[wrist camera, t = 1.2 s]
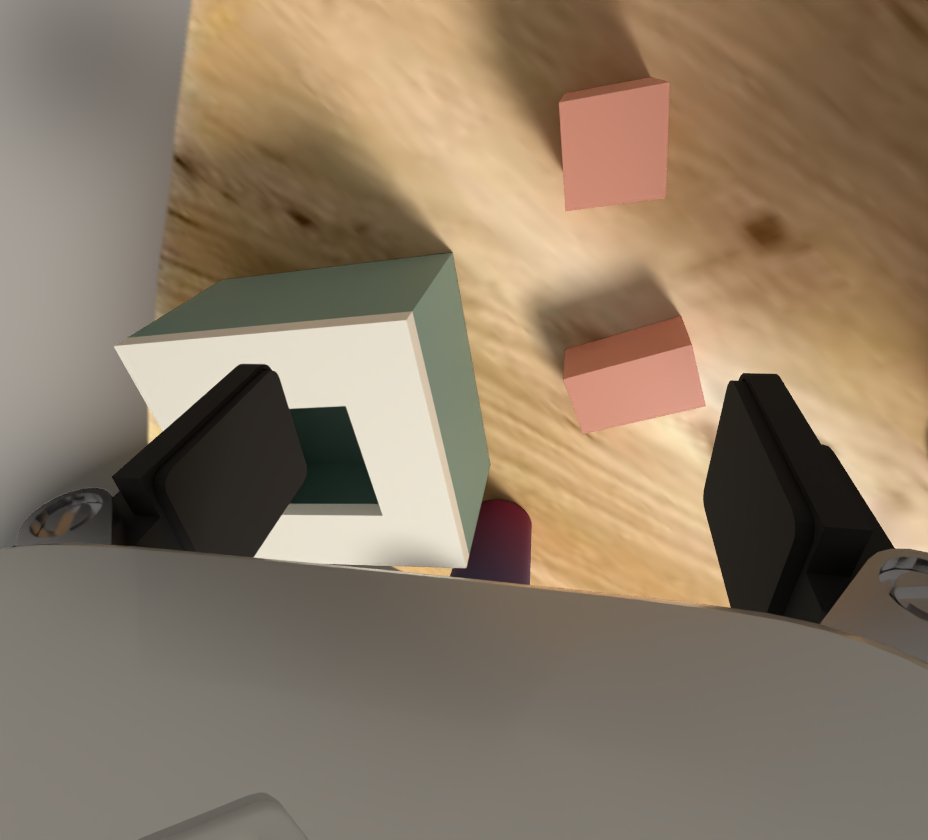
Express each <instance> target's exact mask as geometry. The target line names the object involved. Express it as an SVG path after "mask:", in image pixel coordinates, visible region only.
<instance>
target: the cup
mask: <svg viewBox="0 0 928 840" xmlns="http://www.w3.org/2000/svg"><path fill="white" fill-rule="evenodd" d="M531 528H532V526H531V520H530V517H529V516H528V514H527V513H526V512H525V510H524V509H522V508H521V507H520V506H518V505H516V504H514V503H512V502H509V501H505V500H489V501H485V502H483V503H481V507H480V511H479V516H478V520H477V524H476V529H475V533H474V537H473V541H472V546H471V550H470V554H469V559H468V563H467V567H466V568H453V569H452V572H451V575H450V577H459V578H469V579H478V580H488V581H497V582H507V583H516V584H526V585H530V562H531Z"/></svg>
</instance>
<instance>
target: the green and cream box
mask: <svg viewBox="0 0 928 840" xmlns="http://www.w3.org/2000/svg"><path fill="white" fill-rule="evenodd" d="M114 348H115V350H116V351H117V353H118V355H119V356H120V358H121V360H122V362H123V364H124V365H125V367H126V369H127V371H128V372H129V374H130V376H131V377H132V379H133V381H134V383H135V384H136V386H137V388H138V390H139V391H140V393H141V395H142V397H143V398H144V400H145V402H146V404H147V405H148V407H149V409H150V411H151V412H152V414H153V416H154V418H155V419H156V421H157V423H158V425H159V426H160V428H161V430H162V432H163V431H164V430H165V429H166V428H167V427H169V426H170V425H171V424H172V423H173V422H174V421H175V420H176V419H178V418H179V417H180V416H181V415H182V414H183V413H184V412H186V411H187V410H188V409H189V408H190V407H191V406H192V405H193V404H195V403H196V402H197V401H198V400H199V399H200V398H201V397H202V396H204V395H205V394H206V393H207V392H208V391H209V390H210V389H212V388H213V387H214V386H215V385H216V384H217V383H218V382H219V381H221V380H222V379H223V378H224V377H225V376H226V375H227V374H229V373H230V372H231V371H232V370H233V369H234V368H235V367H236V366H238V365H239V364H266V365H268V366H269V367H270V368H271V369H272V371H275V372H276V373H277V374H278V376H279V378H280V381H281V384H282V387H283V391H284V394H285V397H286V400H287V404H288V407H289V410H290V413H291V417H292V420H293V423H294V426H295V429H296V433H297V436H298V439H299V442H300V446H301V449H302V452H303V455H304V459H305V462H306V465H307V475H306V478H305V481H304V482H303V484H302V485H301V487H300V488H299V490H298V491H297V493H296V494H295V496H294V497H293V499H292V500H291V502H290V503H289V505H288V506H287V508H286V509H285V511H284V512H283V514H282V516H281V517H280V519H279V520H278V522H277V523H276V525H275V526H274V528H273V529H272V531H271V532H270V534H269V535H268V537H267V538H266V540H265V541H264V543H263V544H262V546H261V547H260V549H259V550H258V552H257V553H256V555H255V556H254V558H265V559H276V560H287V561H297V562H308V563H321V564H351V565H381V566H382V565H383V566H411V567H441V568H466V567H467V563H468V559H469V554H470V550H471V546H472V541H473V537H474V533H475V529H476V524H477V520H478V516H479V511H480V507H481V503H482V498H483V494H484V490H485V486H486V481H487V477H488V473H489V468H490V459H489V454H488V448H487V443H486V437H485V431H484V426H483V420H482V415H481V409H480V403H479V398H478V392H477V387H476V381H475V375H474V370H473V364H472V359H471V353H470V347H469V342H468V336H467V331H466V325H465V319H464V314H463V308H462V303H461V297H460V291H459V286H458V280H457V275H456V269H455V263H454V258H453V252H452V253H443V254H435V255H427V256H418V257H410V258H402V259H393V260H385V261H377V262H368V263H360V264H352V265H343V266H335V267H326V268H318V269H310V270H301V271H293V272H285V273H276V274H268V275H260V276H251V277H243V278H234V279H226V280H221V281H219V282H218V283H216V284H214V285H213V286H211V287H210V288H208V289H206V290H205V291H203V292H201V293H200V294H198V295H196V296H195V297H193V298H192V299H190V300H188V301H187V302H185V303H183V304H182V305H180V306H178V307H177V308H175V309H174V310H172V311H170V312H169V313H167V314H165V315H164V316H162V317H160V318H159V319H157V320H155V321H154V322H152V323H151V324H149V325H147V326H146V327H144V328H142V329H141V330H139V331H137V332H136V333H134V334H133V335H131V336H129V337H128V338H126V339H125V340H123V341H121V342H119V343H118V344H116V345H115V346H114Z"/></svg>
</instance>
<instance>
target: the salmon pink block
mask: <svg viewBox="0 0 928 840" xmlns="http://www.w3.org/2000/svg"><path fill="white" fill-rule="evenodd" d="M669 93H670V82H667V81H663V80H660V79H656V78H652V77H648V78H643V79H638V80H632V81H627V82H622V83H616V84H611V85H606V86H600V87H595V88H590V89H584V90H579V91H574V92H568V93H564V95H563V97H562V98H561V100H560V101H559V114H560V130H561V145H562V161H563V177H564V193H565V209H566V211H571V210H578V209H586V208H593V207H601V206H609V205H616V204H624V203H631V202H639V201H646V200H654V199H661V198H666V183H667V153H668V123H669Z"/></svg>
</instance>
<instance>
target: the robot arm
mask: <svg viewBox="0 0 928 840" xmlns="http://www.w3.org/2000/svg"><path fill="white" fill-rule="evenodd" d="M306 475H307V465H306V462H305V459H304V455H303V452H302V449H301V446H300V442H299V439H298V436H297V433H296V429H295V426H294V423H293V420H292V417H291V413H290V410H289V407H288V404H287V400H286V397H285V394H284V391H283V387H282V384H281V381H280V378H279V376H278V374H277V373H276V372H275V371H272V369H271V368H270V367H269V366H268V365H266V364H239V365H238V366H236V367H235V368H234V369H233V370H232V371H231V372H230V373H229V374H227V375H226V376H225V377H224V378H223V379H222V380H221V381H219V382H218V383H217V384H216V385H215V386H214V387H213V388H212V389H210V390H209V391H208V392H207V393H206V394H205V395H204V396H202V397H201V398H200V399H199V400H198V401H197V402H196V403H195V404H193V405H192V406H191V407H190V408H189V409H188V410H187V411H186V412H184V413H183V414H182V415H181V416H180V417H179V418H178V419H176V420H175V421H174V422H173V423H172V424H171V425H170V426H169V427H167V428H166V429H165V430H164V431H163V432H162V433H161V434H160V435H158V436H157V437H156V438H155V439H154V440H153V441H152V442H150V443H149V444H148V445H147V446H146V447H145V448H144V449H143V450H141V451H140V452H139V453H138V454H137V455H136V456H135V457H134V458H132V459H131V460H130V461H129V462H128V463H127V464H126V465H124V466H123V467H122V468H121V469H120V470H119V471H118V472H117V473H116V474H114V475H113V476H112V478H113V480H114V482H115V483H116V485H117V487H118V488H119V490H120V491H119V492H118V493H117V494H116V495H115V496H114V497H112V495H111V493H110V492H108V491H107V490H105V489H102V488H95V487H94V488H83V489H79V490H75V491H71V492H68V493H66V494H63V495H61V496H58V497H56V498H54V499H52V500H51V501H49V502H47V503H45V504H43V505H42V506H41V507H39V508H38V509H37V510H35V511H34V512H33V513H31V514H30V515H29V516H28V518H27V519H26V520H25V521H24V522H23V523H22V525H21V528H20V530H19V533H18V537H17V541H16V545H15V546H13V547H9V548H4V549H0V840H928V553H927V552H922V551H917V550H912V549H895V548H894V546H893V545H892V543H891V542H890V540H889V539H888V537H887V535H886V534H885V532H884V531H883V529H882V527H881V526H880V524H879V523H878V521H877V520H876V518H875V516H874V515H873V513H872V512H871V510H870V509H869V507H868V505H867V504H866V502H865V501H864V499H863V497H862V496H861V494H860V493H859V491H858V490H857V488H856V486H855V485H854V483H853V482H852V480H851V478H850V477H849V475H848V474H847V472H846V471H845V469H844V467H843V466H842V464H841V463H840V461H839V460H838V458H837V456H836V455H835V453H834V452H833V451H832V449H831V448H830V447H829V446H826V445H821V444H820V442H819V440H818V439H817V437H816V435H815V434H814V432H813V431H812V429H811V427H810V426H809V424H808V422H807V421H806V419H805V417H804V416H803V414H802V413H801V411H800V409H799V408H798V406H797V404H796V403H795V401H794V399H793V398H792V396H791V395H790V393H789V391H788V390H787V388H786V386H785V385H784V383H783V381H782V380H781V378H780V377H779V376H778V375H777V374H751V373H743V374H742V375H741V376H740V378H739V381H730V382H729V384H728V386H727V390H726V394H725V399H724V403H723V408H722V412H721V416H720V421H719V425H718V430H717V434H716V439H715V443H714V447H713V452H712V456H711V461H710V465H709V470H708V474H707V478H706V483H705V487H704V495H703V501H704V508H705V512H706V516H707V520H708V523H709V527H710V531H711V535H712V538H713V542H714V546H715V550H716V553H717V557H718V561H719V565H720V568H721V572H722V576H723V580H724V583H725V587H726V591H727V595H728V598H729V602H730V606H731V608H728V607H720V606H713V605H706V604H699V603H692V602H684V601H676V600H666V599H656V598H647V597H638V596H629V595H620V594H611V593H602V592H592V591H583V590H573V589H564V588H554V587H545V586H535V585H526V584H516V583H507V582H497V581H488V580H478V579H469V578H459V577H449V576H439V575H429V574H419V573H409V572H399V571H389V570H379V569H369V568H359V567H349V566H337V565H328V564H318V563H308V562H297V561H287V560H276V559H265V558H254V556H255V555H256V553H257V552H258V550H259V549H260V547H261V546H262V544H263V543H264V541H265V540H266V538H267V537H268V535H269V534H270V532H271V531H272V529H273V528H274V526H275V525H276V523H277V522H278V520H279V519H280V517H281V516H282V514H283V512H284V511H285V509H286V508H287V506H288V505H289V503H290V502H291V500H292V499H293V497H294V496H295V494H296V493H297V491H298V490H299V488H300V487H301V485H302V484H303V482H304V481H305V478H306Z"/></svg>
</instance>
